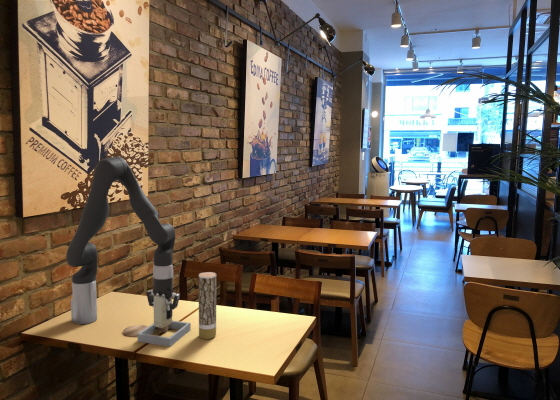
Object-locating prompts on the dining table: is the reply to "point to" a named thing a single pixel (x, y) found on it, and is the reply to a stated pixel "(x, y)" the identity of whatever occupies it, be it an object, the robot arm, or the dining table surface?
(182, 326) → the parts bin
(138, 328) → the cork coaster
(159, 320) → the skincare box
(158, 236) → the robot arm
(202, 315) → the paper tube
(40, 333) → the dining table surface
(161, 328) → the walnut block
